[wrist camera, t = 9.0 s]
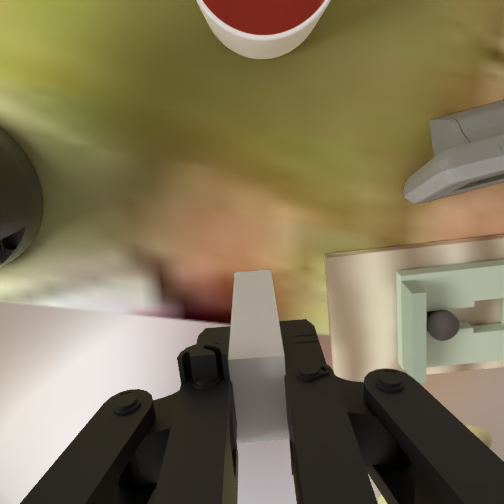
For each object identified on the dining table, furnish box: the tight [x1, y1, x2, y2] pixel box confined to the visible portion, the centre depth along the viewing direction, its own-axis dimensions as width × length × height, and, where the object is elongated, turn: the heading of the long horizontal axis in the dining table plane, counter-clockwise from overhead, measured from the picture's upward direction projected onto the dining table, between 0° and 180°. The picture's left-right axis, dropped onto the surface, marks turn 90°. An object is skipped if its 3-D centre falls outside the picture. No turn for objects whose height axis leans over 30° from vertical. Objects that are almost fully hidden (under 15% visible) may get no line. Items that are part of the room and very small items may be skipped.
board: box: [324, 234, 504, 381], centre depth 41 cm, size 29×14×4 cm, turn 97°
